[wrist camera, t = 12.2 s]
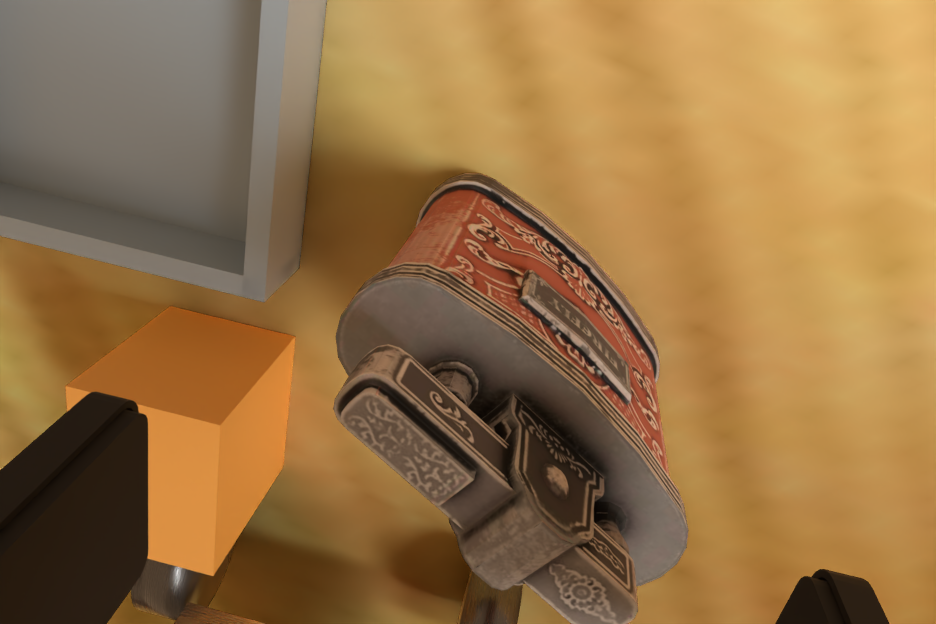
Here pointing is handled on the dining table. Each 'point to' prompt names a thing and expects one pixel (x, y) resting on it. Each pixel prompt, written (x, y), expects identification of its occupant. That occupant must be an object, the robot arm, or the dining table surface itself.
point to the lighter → (517, 401)
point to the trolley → (189, 593)
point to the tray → (161, 134)
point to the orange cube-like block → (201, 425)
